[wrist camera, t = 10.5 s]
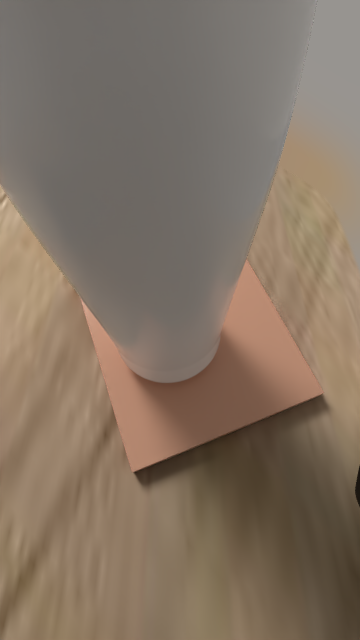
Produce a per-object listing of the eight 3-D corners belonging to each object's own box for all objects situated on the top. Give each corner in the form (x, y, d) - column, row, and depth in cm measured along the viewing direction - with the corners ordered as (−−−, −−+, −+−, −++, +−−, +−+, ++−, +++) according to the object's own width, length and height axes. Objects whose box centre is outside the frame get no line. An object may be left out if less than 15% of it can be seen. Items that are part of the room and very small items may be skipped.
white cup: (208, 272, 20) (238, -181, 7) (253, 378, 17) (474, -94, 4) (95, 303, 19) (-120, -141, 6) (119, 419, 16) (-226, 14, 3)
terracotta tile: (319, 396, 17) (324, 392, 17) (133, 472, 16) (132, 472, 15) (222, 227, 22) (224, 219, 22) (73, 272, 21) (70, 266, 20)
